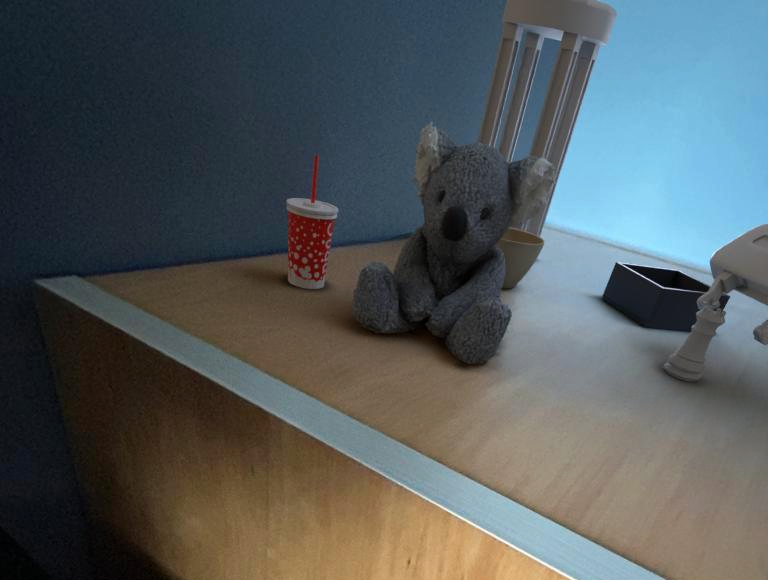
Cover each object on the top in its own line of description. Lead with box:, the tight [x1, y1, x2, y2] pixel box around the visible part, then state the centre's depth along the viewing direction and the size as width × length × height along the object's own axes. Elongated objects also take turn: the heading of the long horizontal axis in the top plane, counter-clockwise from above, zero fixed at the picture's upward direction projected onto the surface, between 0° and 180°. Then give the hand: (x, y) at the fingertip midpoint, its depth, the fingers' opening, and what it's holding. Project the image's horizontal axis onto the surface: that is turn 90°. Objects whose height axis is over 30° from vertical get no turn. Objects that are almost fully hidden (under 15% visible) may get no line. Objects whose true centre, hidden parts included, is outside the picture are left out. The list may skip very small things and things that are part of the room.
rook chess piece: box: [663, 305, 727, 383], centre depth 67 cm, size 4×4×8 cm
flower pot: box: [495, 227, 546, 289], centre depth 86 cm, size 10×10×7 cm
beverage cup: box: [285, 154, 339, 290], centre depth 68 cm, size 6×6×14 cm
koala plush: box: [352, 121, 558, 365], centre depth 61 cm, size 17×18×20 cm
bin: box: [601, 261, 731, 332], centre depth 87 cm, size 12×12×6 cm
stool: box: [476, 0, 618, 237], centre depth 93 cm, size 16×16×35 cm
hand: (728, 322), depth 65 cm, fingers open, 8 cm apart
